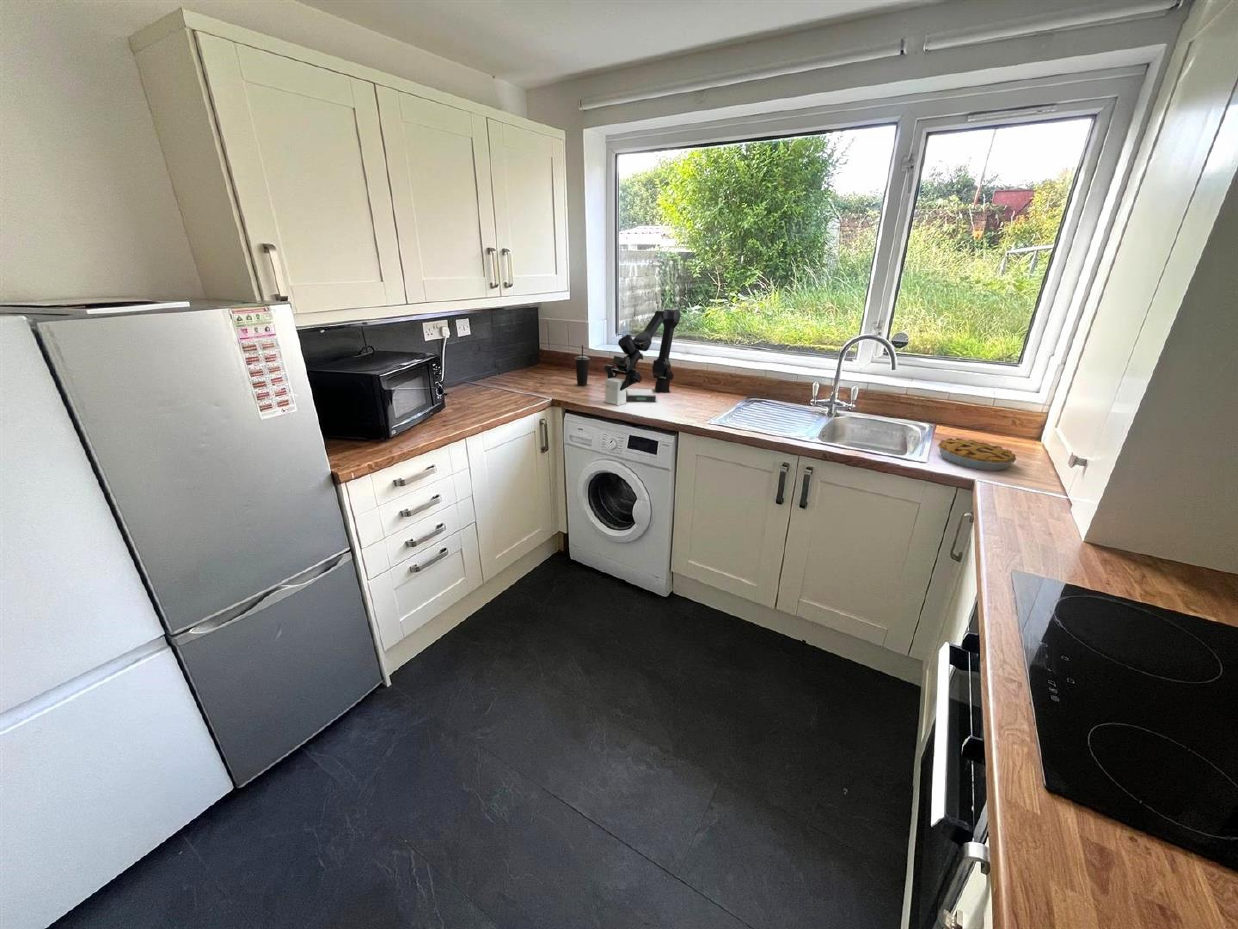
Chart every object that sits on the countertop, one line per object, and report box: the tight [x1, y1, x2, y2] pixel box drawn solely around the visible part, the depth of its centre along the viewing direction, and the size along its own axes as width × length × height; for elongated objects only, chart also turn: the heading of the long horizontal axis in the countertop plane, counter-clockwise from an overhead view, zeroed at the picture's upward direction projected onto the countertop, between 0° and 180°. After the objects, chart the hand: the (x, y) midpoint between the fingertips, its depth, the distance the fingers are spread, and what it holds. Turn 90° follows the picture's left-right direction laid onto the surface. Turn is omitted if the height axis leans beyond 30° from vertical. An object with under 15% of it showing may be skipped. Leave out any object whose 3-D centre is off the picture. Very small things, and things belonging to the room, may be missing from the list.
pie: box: [937, 437, 1017, 472], centre depth 166 cm, size 22×22×5 cm
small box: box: [604, 377, 627, 406], centre depth 221 cm, size 8×6×10 cm
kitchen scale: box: [626, 388, 657, 403], centre depth 232 cm, size 13×13×3 cm
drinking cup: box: [574, 344, 591, 387], centre depth 251 cm, size 8×8×20 cm
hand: (613, 388), depth 220 cm, fingers closed on small box, 8 cm apart
